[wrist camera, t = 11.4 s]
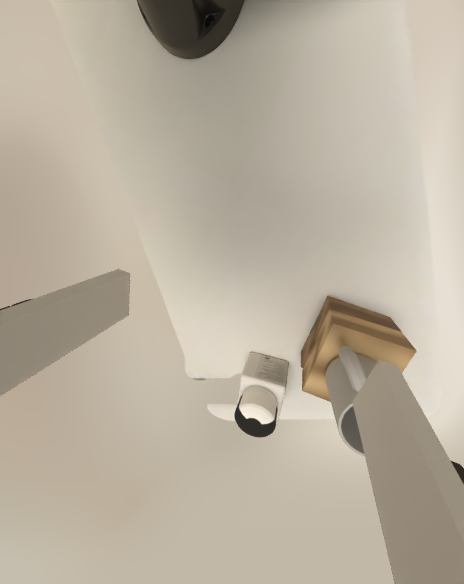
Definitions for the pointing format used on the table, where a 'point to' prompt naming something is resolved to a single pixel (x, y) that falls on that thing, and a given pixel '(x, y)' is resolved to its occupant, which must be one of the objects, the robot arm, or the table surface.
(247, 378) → the container
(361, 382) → the cup
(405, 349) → the slab upper
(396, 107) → the table surface
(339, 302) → the slab lower
